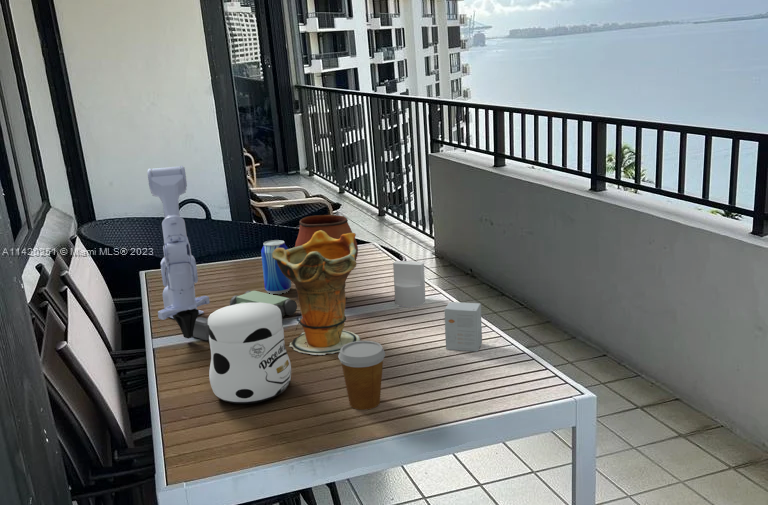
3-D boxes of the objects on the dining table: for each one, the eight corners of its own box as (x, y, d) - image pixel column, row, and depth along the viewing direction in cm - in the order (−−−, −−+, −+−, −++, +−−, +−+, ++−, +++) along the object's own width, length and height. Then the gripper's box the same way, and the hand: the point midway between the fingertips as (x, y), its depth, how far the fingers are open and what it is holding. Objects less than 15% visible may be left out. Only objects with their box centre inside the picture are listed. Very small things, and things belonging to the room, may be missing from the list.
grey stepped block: (189, 335, 183) (187, 318, 182) (217, 324, 191) (215, 308, 189) (206, 340, 179) (204, 323, 178) (234, 329, 186) (232, 312, 185)
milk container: (299, 402, 143) (291, 321, 138) (214, 417, 138) (203, 333, 134) (286, 370, 159) (279, 296, 154) (210, 382, 154) (200, 307, 150)
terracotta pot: (338, 313, 195) (332, 227, 189) (284, 305, 205) (277, 223, 198) (372, 293, 211) (368, 214, 205) (321, 286, 221) (315, 210, 214)
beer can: (286, 295, 214) (282, 245, 210) (261, 295, 215) (256, 245, 211) (295, 287, 222) (291, 239, 217) (270, 287, 223) (266, 239, 219)
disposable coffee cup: (341, 394, 145) (337, 341, 142) (385, 390, 146) (383, 338, 143) (342, 415, 136) (338, 359, 133) (389, 411, 137) (387, 356, 134)
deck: (217, 316, 198) (215, 302, 196) (254, 302, 208) (253, 288, 207) (260, 328, 187) (259, 312, 185) (297, 312, 197) (296, 297, 196)
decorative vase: (264, 355, 167) (256, 242, 161) (306, 326, 188) (301, 226, 182) (342, 363, 160) (337, 246, 154) (377, 333, 181) (374, 229, 175)
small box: (482, 343, 168) (481, 303, 166) (477, 352, 163) (477, 310, 161) (450, 341, 171) (449, 301, 168) (445, 349, 166) (443, 308, 163)
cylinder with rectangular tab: (390, 305, 199) (388, 266, 196) (401, 296, 207) (399, 257, 204) (419, 308, 196) (418, 267, 193) (429, 298, 204) (428, 259, 201)
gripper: (167, 297, 168) (174, 349, 171) (214, 282, 179) (220, 331, 182) (150, 293, 172) (157, 344, 175) (197, 278, 183) (203, 326, 186)
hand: (188, 337), depth 179 cm, fingers closed
